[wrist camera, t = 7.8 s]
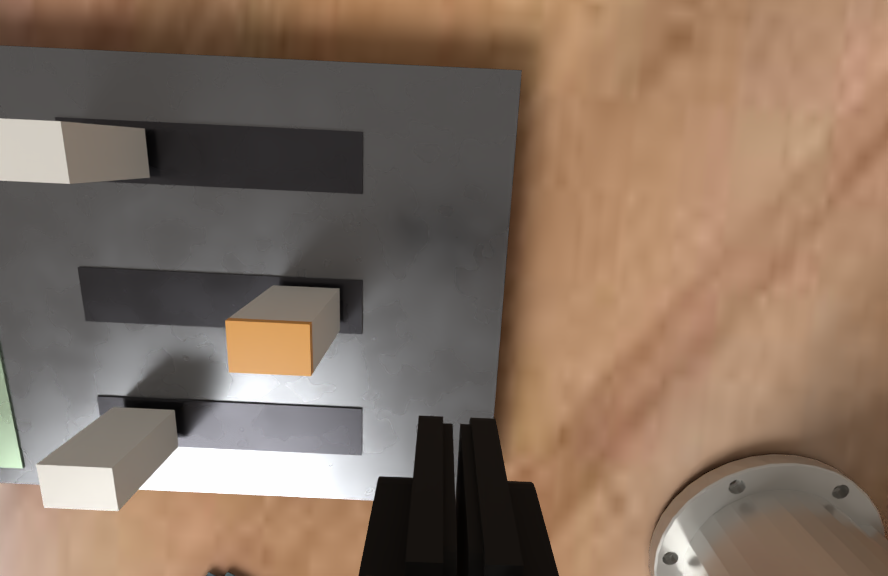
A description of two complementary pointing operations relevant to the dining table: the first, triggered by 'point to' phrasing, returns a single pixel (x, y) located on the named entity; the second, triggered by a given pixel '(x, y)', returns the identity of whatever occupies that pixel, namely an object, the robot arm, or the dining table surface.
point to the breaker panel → (257, 261)
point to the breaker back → (108, 459)
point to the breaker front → (70, 152)
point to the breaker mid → (283, 331)
